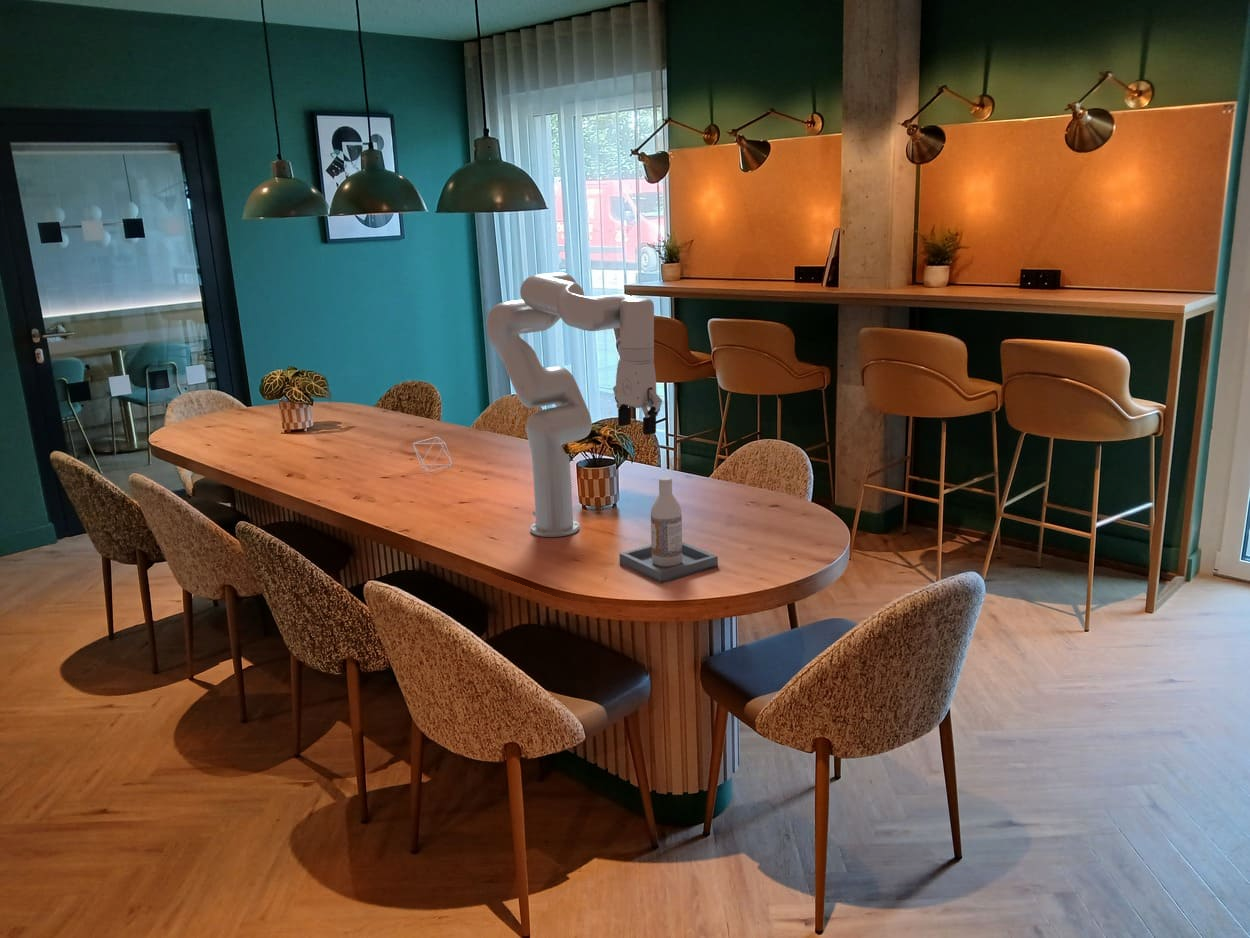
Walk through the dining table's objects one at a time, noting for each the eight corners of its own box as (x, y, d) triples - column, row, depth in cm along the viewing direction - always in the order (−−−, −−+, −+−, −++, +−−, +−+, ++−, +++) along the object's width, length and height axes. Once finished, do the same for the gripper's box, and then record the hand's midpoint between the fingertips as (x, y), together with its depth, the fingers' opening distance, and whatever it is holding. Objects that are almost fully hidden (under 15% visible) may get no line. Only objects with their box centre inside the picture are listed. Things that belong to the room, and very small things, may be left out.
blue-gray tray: (619, 563, 220) (619, 553, 220) (674, 548, 229) (674, 538, 229) (661, 583, 208) (661, 572, 207) (717, 566, 216) (717, 556, 216)
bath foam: (649, 558, 221) (646, 475, 216) (678, 555, 222) (676, 473, 217) (655, 569, 215) (653, 483, 209) (685, 566, 216) (684, 481, 210)
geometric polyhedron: (408, 469, 312) (405, 442, 310) (433, 461, 321) (430, 435, 318) (435, 474, 305) (432, 446, 303) (459, 466, 314) (457, 439, 311)
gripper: (601, 350, 216) (601, 424, 221) (646, 362, 203) (645, 440, 208) (628, 347, 220) (628, 419, 225) (674, 358, 207) (673, 435, 212)
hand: (636, 429), depth 216 cm, fingers open, 9 cm apart
